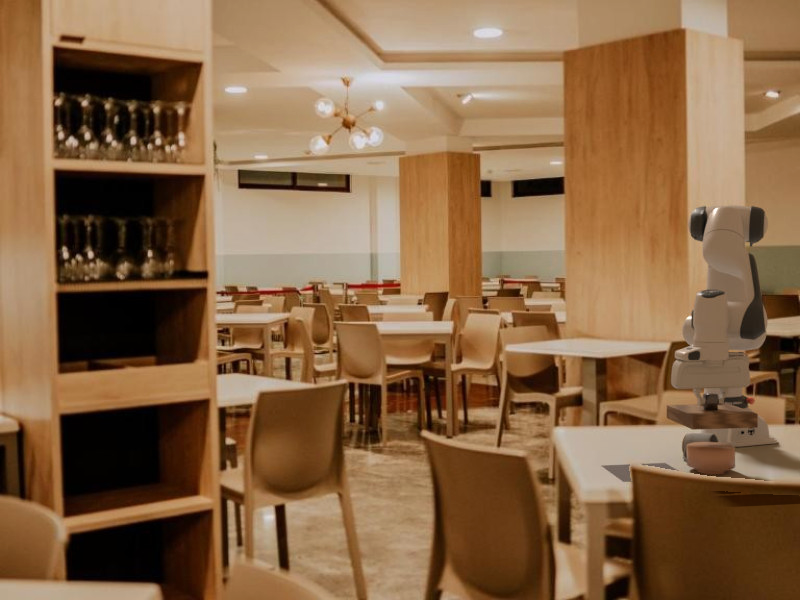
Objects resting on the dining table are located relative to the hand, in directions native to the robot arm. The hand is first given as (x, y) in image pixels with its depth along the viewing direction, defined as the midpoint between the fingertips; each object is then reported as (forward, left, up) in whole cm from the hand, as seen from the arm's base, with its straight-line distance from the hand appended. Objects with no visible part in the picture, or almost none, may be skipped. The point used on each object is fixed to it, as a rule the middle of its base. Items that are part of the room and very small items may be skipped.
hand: (710, 405), depth 242 cm
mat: (+17, -2, -18) cm, 25 cm away
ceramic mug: (-3, -14, -18) cm, 23 cm away
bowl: (0, 0, -18) cm, 18 cm away
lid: (0, 0, -5) cm, 5 cm away
